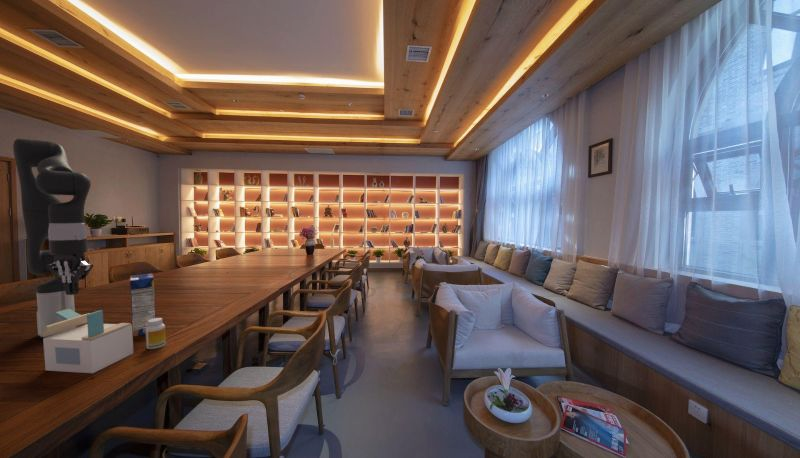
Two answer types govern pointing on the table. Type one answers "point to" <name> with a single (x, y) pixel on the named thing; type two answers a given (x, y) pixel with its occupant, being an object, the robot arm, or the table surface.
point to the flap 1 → (65, 321)
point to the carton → (86, 349)
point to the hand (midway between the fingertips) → (72, 294)
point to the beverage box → (142, 302)
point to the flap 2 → (100, 326)
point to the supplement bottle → (155, 334)
